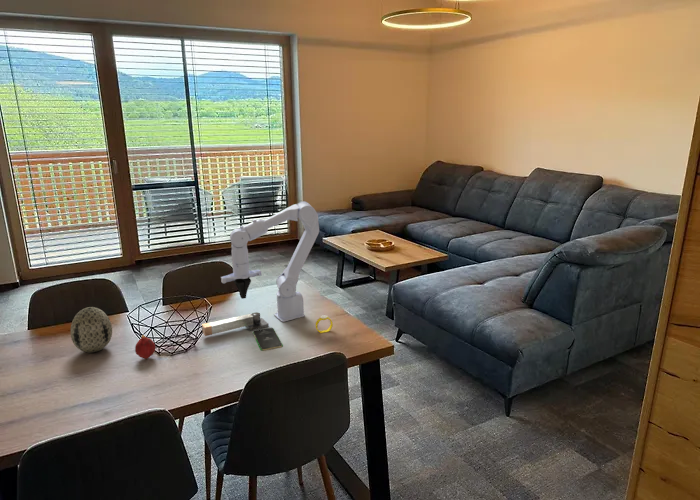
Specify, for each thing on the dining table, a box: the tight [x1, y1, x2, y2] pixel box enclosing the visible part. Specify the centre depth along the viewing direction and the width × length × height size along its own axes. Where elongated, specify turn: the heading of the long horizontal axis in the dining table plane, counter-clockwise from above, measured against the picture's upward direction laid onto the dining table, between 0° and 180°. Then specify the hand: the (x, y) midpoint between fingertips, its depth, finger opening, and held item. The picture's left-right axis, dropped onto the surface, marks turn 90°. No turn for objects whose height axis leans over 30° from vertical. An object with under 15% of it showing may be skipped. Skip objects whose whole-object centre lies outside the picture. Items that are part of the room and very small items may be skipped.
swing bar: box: [201, 312, 261, 337], centre depth 165 cm, size 3×20×3 cm, turn 121°
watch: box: [314, 314, 334, 334], centre depth 165 cm, size 6×3×6 cm, turn 112°
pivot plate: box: [245, 317, 270, 332], centre depth 170 cm, size 7×6×1 cm
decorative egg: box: [70, 306, 113, 354], centre depth 151 cm, size 12×12×15 cm
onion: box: [134, 334, 156, 360], centre depth 147 cm, size 6×6×8 cm
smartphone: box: [252, 327, 284, 351], centre depth 160 cm, size 8×1×15 cm
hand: (243, 297), depth 171 cm, fingers closed
